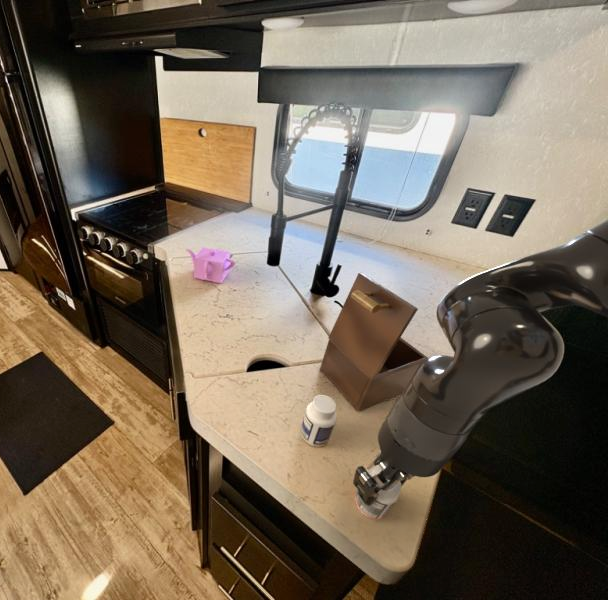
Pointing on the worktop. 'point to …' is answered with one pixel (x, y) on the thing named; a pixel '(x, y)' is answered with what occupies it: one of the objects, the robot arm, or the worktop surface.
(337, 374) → the chest
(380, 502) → the pill bottle
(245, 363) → the worktop surface
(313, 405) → the pill bottle
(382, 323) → the lid
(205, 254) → the teapot
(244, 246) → the worktop surface
